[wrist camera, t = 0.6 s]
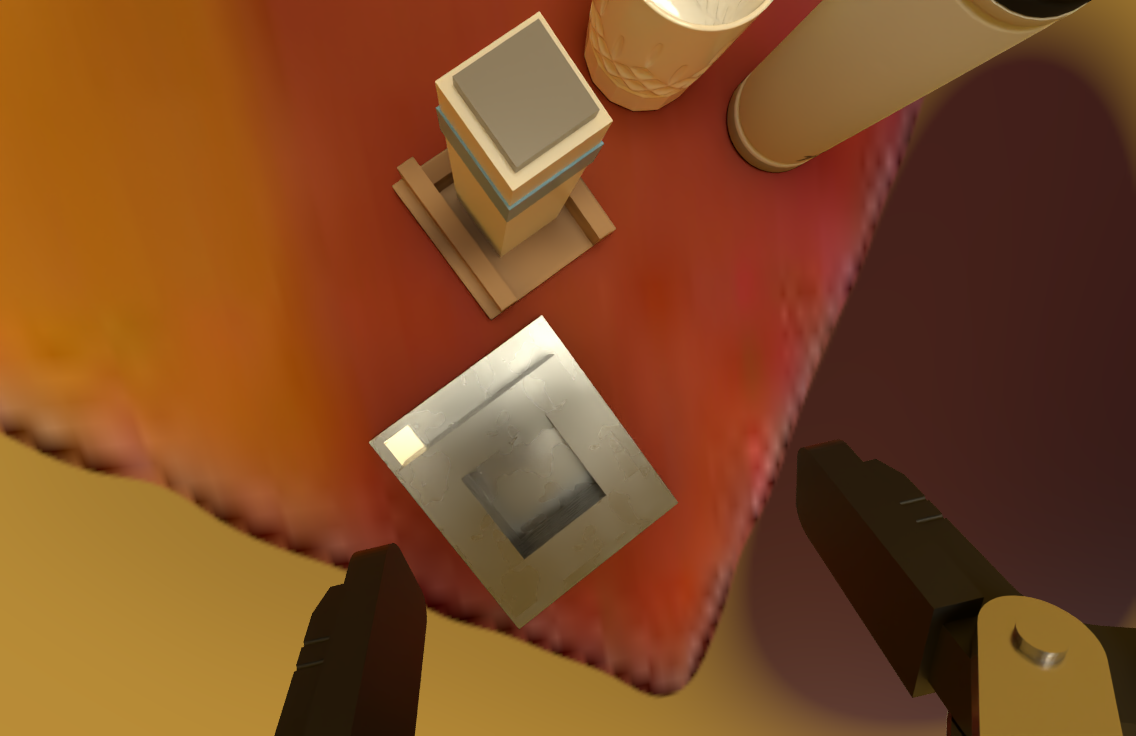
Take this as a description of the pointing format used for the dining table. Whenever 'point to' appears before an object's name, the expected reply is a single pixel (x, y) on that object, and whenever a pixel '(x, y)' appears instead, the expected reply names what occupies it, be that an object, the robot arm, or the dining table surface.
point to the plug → (518, 131)
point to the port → (525, 471)
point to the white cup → (660, 45)
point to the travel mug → (868, 68)
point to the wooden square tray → (471, 252)
